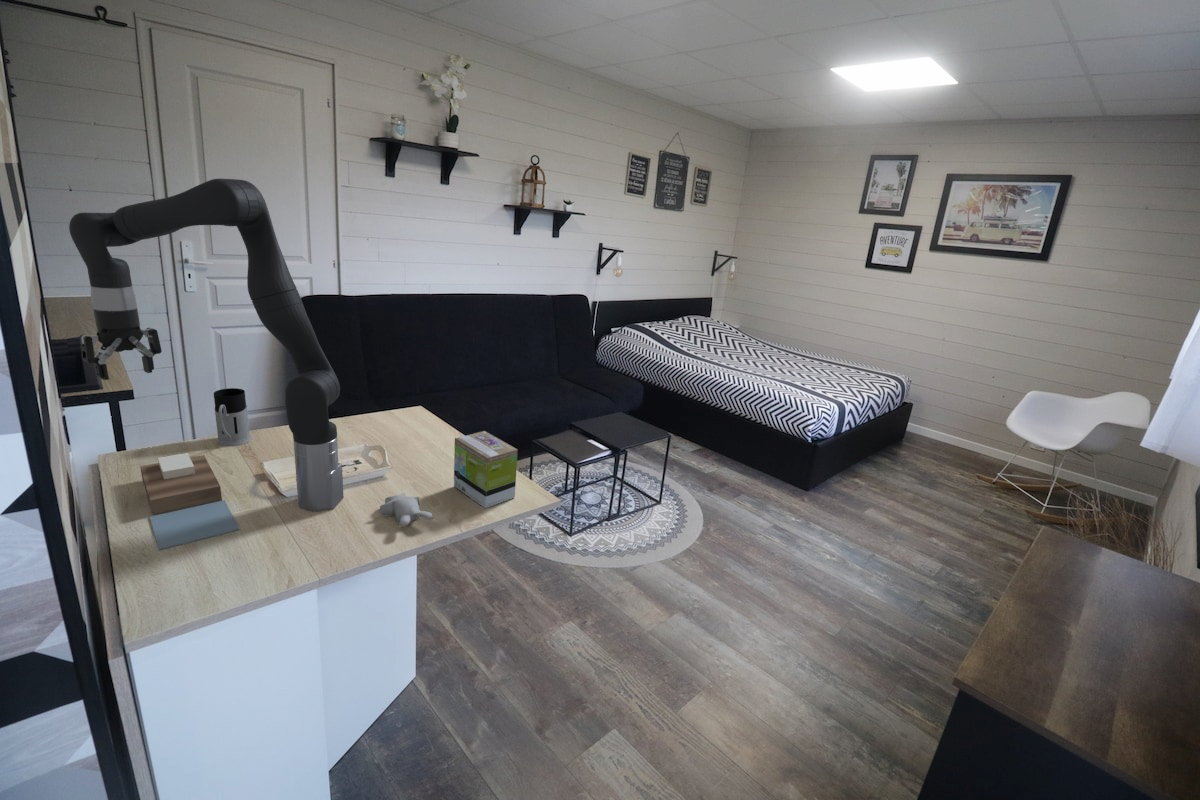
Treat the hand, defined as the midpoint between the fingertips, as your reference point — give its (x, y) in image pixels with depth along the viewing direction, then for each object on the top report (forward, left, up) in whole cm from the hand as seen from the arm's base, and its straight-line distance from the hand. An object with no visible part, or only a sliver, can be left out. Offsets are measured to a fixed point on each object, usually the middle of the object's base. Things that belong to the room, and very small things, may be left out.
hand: (127, 375), depth 129 cm
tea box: (-82, -8, -27) cm, 87 cm away
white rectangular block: (-9, +1, -23) cm, 25 cm away
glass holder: (-6, -24, -27) cm, 37 cm away
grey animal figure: (-66, +8, -27) cm, 72 cm away
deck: (-11, +4, -27) cm, 30 cm away
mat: (-23, +17, -27) cm, 39 cm away
